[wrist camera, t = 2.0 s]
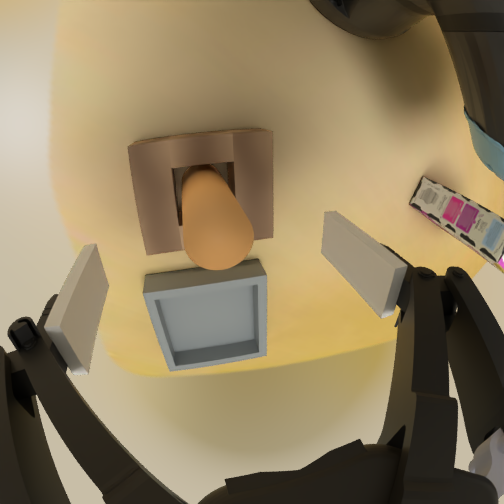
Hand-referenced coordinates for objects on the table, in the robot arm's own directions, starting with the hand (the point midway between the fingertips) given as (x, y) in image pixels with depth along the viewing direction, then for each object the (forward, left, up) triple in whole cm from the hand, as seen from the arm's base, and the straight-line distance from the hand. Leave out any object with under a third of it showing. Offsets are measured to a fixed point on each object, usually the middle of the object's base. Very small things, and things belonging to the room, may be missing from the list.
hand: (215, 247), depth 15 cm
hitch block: (0, 0, -14) cm, 14 cm away
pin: (0, 0, -14) cm, 14 cm away
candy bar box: (-33, +5, -14) cm, 36 cm away
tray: (+1, +16, -14) cm, 21 cm away
